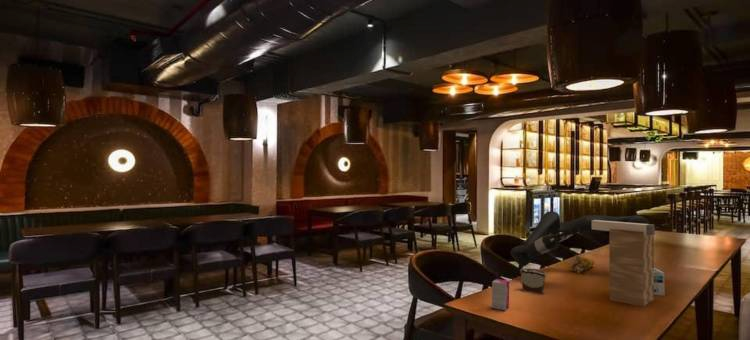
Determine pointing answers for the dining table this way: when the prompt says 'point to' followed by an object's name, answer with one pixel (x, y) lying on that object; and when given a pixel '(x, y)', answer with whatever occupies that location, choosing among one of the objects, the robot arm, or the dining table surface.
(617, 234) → the stand
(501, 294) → the supplement box
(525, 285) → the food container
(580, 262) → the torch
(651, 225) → the bar
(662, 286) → the light bulb box
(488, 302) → the dining table surface
